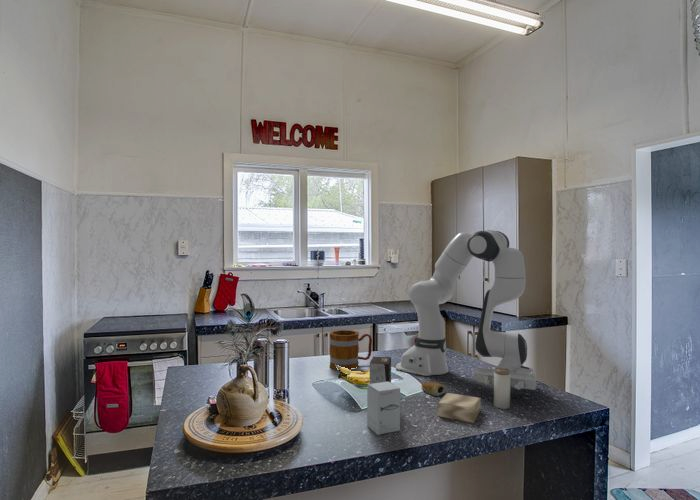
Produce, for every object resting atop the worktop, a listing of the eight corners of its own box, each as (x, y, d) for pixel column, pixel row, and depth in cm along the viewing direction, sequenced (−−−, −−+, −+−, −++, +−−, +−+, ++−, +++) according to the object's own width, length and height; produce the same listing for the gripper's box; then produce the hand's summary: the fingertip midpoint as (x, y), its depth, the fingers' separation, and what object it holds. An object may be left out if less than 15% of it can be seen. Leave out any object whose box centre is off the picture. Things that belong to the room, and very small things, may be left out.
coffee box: (388, 414, 136) (388, 363, 135) (368, 412, 137) (368, 362, 137) (391, 404, 144) (391, 356, 144) (373, 402, 146) (373, 355, 146)
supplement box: (378, 435, 120) (378, 391, 120) (366, 425, 127) (366, 383, 127) (400, 431, 123) (400, 387, 123) (388, 421, 130) (388, 380, 130)
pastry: (416, 390, 159) (416, 379, 159) (429, 386, 163) (429, 376, 163) (435, 397, 152) (435, 386, 152) (448, 393, 155) (448, 383, 155)
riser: (437, 416, 134) (437, 402, 134) (447, 404, 144) (447, 392, 144) (473, 422, 129) (473, 408, 129) (480, 410, 139) (480, 397, 139)
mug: (333, 371, 182) (333, 336, 182) (326, 363, 195) (326, 330, 195) (376, 368, 187) (376, 334, 187) (367, 360, 200) (367, 328, 200)
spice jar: (492, 406, 142) (492, 371, 142) (494, 401, 146) (495, 367, 146) (508, 409, 139) (509, 373, 139) (510, 404, 144) (511, 369, 144)
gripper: (478, 361, 160) (470, 371, 148) (537, 369, 150) (534, 379, 138) (478, 378, 160) (470, 389, 148) (537, 387, 150) (534, 399, 138)
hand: (501, 385), depth 143 cm, fingers open, 8 cm apart
